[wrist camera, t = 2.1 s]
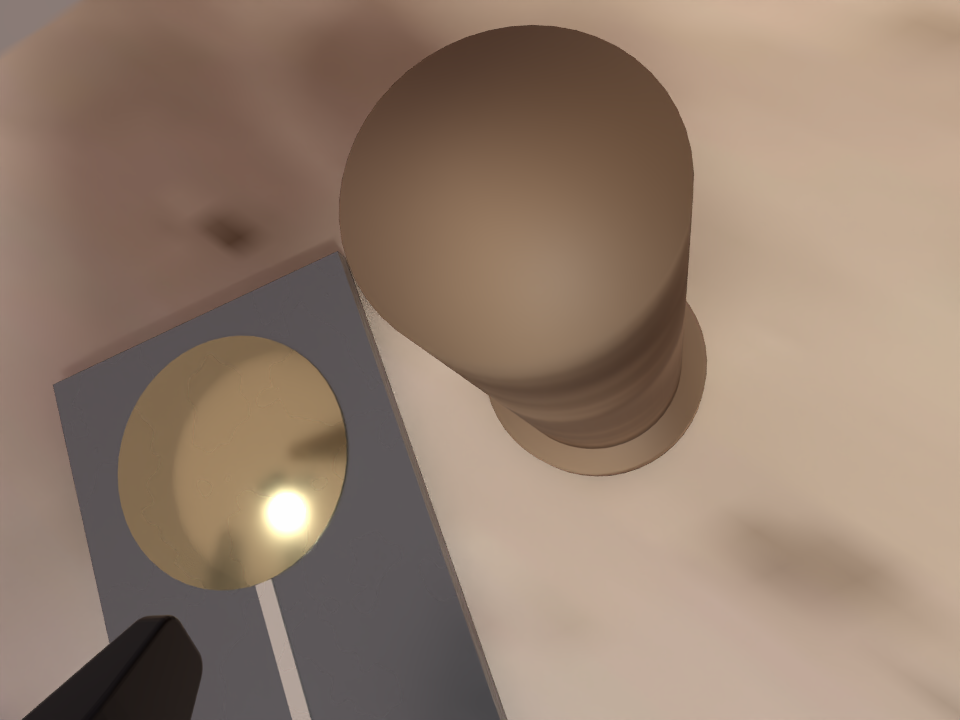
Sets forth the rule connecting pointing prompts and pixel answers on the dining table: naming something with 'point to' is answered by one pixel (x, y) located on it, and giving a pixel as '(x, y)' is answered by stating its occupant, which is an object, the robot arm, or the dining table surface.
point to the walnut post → (537, 239)
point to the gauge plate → (275, 512)
